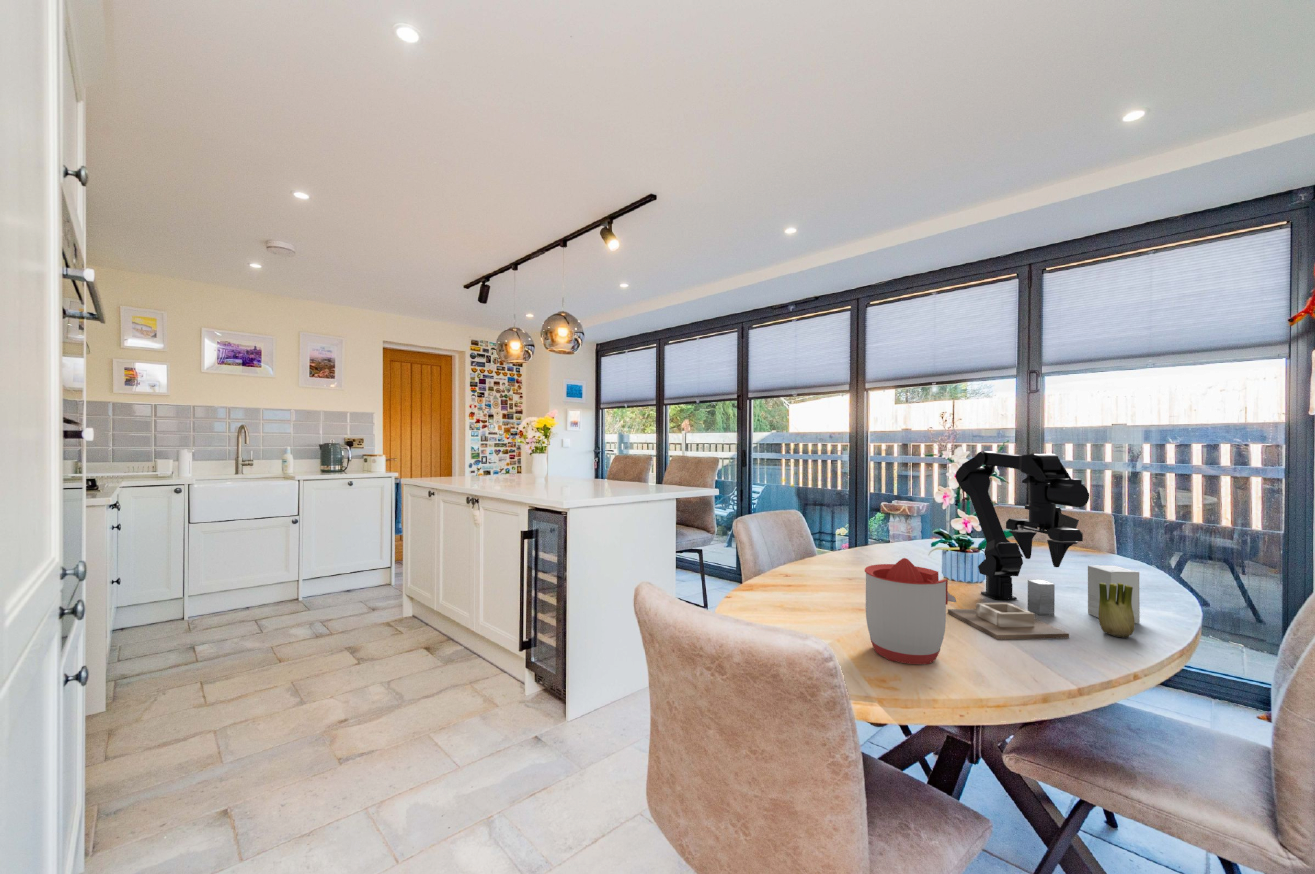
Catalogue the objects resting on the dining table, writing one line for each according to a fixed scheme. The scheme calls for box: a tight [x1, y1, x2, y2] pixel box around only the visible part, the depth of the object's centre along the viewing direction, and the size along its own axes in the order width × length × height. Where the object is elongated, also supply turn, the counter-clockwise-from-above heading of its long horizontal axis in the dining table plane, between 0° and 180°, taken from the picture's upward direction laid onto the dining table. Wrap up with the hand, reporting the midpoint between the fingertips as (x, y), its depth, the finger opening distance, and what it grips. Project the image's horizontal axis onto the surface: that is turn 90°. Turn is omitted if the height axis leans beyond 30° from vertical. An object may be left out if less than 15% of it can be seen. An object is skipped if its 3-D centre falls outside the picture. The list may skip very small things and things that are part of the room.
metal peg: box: [1027, 579, 1056, 617], centre depth 138 cm, size 4×4×8 cm
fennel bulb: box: [1098, 583, 1136, 639], centre depth 122 cm, size 6×5×12 cm
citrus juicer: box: [864, 557, 957, 665], centre depth 110 cm, size 16×17×20 cm
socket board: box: [947, 602, 1070, 640], centre depth 129 cm, size 18×17×4 cm
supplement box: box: [1087, 564, 1141, 624], centre depth 134 cm, size 7×7×13 cm
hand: (1041, 562), depth 138 cm, fingers open, 9 cm apart
